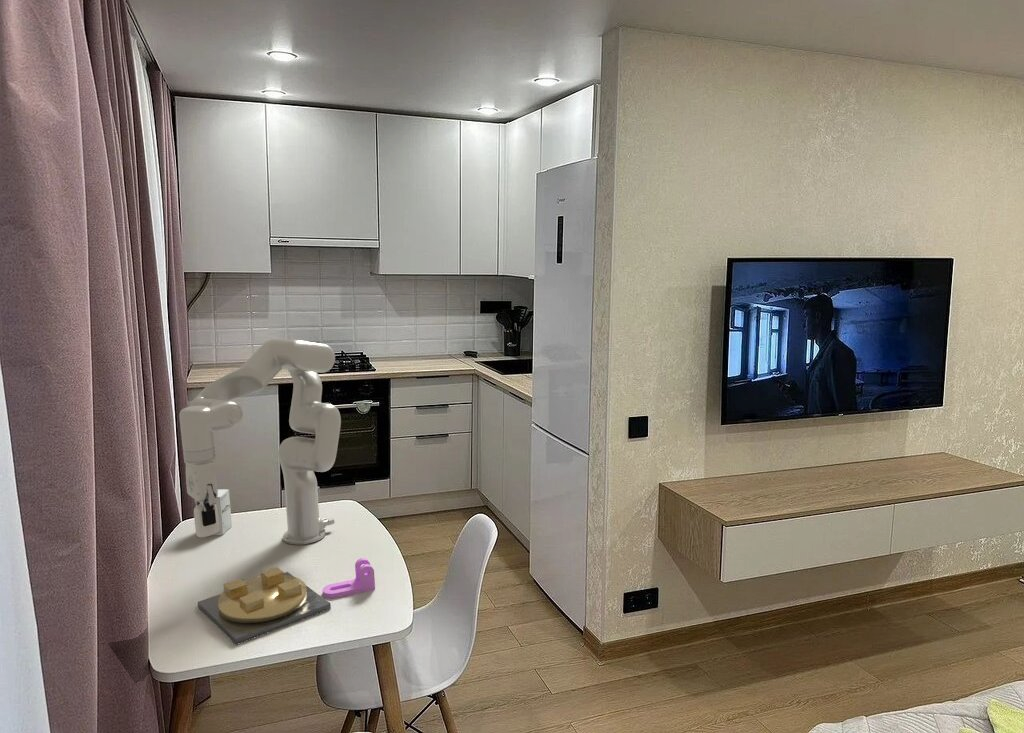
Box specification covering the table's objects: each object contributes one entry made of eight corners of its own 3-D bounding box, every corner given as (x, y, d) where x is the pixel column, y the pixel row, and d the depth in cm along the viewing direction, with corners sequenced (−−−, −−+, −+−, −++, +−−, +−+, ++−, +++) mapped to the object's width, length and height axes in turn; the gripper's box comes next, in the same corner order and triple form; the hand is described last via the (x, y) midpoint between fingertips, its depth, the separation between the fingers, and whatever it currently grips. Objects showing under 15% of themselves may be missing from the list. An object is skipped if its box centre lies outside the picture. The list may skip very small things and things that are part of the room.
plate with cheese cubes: (284, 574, 203) (283, 558, 202) (321, 601, 187) (320, 585, 187) (205, 600, 189) (204, 584, 188) (239, 632, 174) (237, 614, 173)
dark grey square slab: (287, 576, 205) (287, 571, 205) (330, 608, 188) (330, 602, 187) (198, 607, 190) (197, 601, 189) (236, 645, 172) (235, 638, 172)
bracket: (369, 580, 202) (368, 556, 201) (375, 589, 198) (373, 565, 196) (321, 591, 197) (319, 566, 196) (325, 600, 192) (323, 575, 191)
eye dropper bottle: (196, 532, 197) (191, 488, 195) (219, 528, 199) (214, 485, 197) (196, 538, 193) (191, 494, 191) (219, 534, 195) (215, 490, 193)
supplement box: (223, 535, 234) (219, 497, 232) (199, 535, 234) (196, 497, 232) (232, 526, 241) (229, 488, 239) (210, 526, 242) (206, 488, 239)
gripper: (173, 450, 196) (181, 517, 199) (196, 465, 183) (203, 535, 187) (202, 444, 200) (209, 510, 204) (226, 458, 188) (233, 527, 192)
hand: (206, 521), depth 195 cm, fingers closed on eye dropper bottle, 3 cm apart
